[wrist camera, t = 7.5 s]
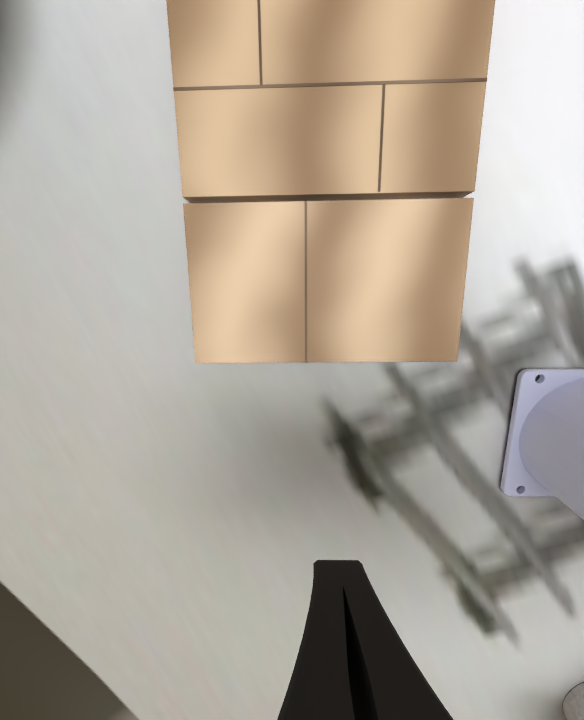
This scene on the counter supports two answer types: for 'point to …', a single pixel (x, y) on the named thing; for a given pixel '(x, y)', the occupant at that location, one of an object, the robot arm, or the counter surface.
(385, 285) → the click plank
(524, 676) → the counter surface
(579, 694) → the house plant
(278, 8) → the laid floor boards
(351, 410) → the counter surface
